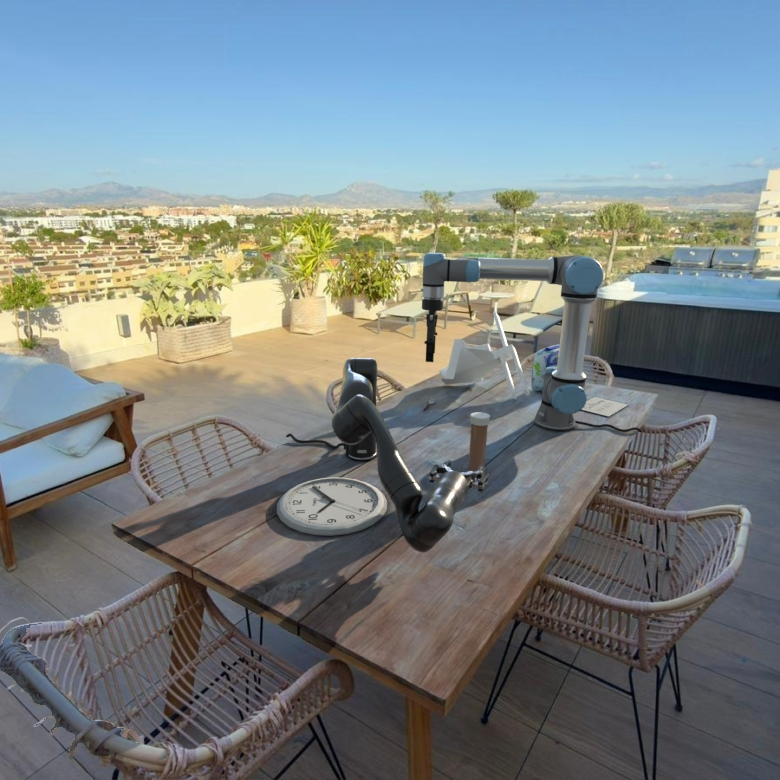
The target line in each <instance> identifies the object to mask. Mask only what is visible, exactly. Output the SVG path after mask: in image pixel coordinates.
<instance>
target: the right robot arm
mask: <svg viewBox="0 0 780 780" xmlns="http://www.w3.org/2000/svg"><path fill="white" fill-rule="evenodd" d="M422 264H423V265H422V288H420V292H421V293H422V294H421V296H422V299H421V309H422V310H423V311H428V313H426V316H425V320H426V340H424V342H423V343H424V344H425V362H426V363H434V359H435V357H434V356H435V353H436V338H437V337H436V336H438V332H437V329H436V328H437V324H438V318H439V315H438V314H437V311H438V312H439V311H442V310H444V299H443V298H444V297H445V282H447V283H449V282H452V283H453V282H457V283H468V284H470V283H477V282H479V281H480V280H495V281H497V280H499V281H500V280H501V281H526V282H527V281H531V282H546V283H547V284H548V285H557V286H561V289H560V298H561V299H562V300H563V303H564V305H563V313H562V322H561V330H560V339H559V345H560V346H559V355H558V364H557V366H553V367H547V368H546V369H545V373H544V382H543V392H542V391H541V393H542V394H541V402H540V405H539V407H538V410H537V411H536V413H535V417H534V424H535V425H536V426H537V427H539V428H542V429H544V430H549V431H556V432H567V431H572V430H574V429H575V428H576V424H578V425H582V426H588V427H591V428H605V427H607V428H611V429H613V430H615V431H618V432H621V433H628V432H631V431H637V432H639V433H643V430H642V429H641V428H639V427H637V426H634V427H633V426H632V427H630V428H625V429H622V428H619V427H617V426H614V425H612V424H610V423H609V424H608V423H601V424H593V423H589V422H585V421H579V420H576V418H575V417H576V416H575V414H576V413H579V412H580V411H582V410H581V409H582V408H583V407H584V406H585V404H586V401H588V397H587V392H586V389H585V388H586V383H587V382H586V381H587V375H586V374H585V373H584V371H583V369H584V361H585V355H586V347H587V339H588V338H587V337H588V330H589V324H590V318H591V317H590V316H591V308H592V303H593V302H594V301H596V300H597V298H598V294H599V293H598V291H599V288H601V285H602V284H603V281H604V269H603V267H602V265H601V264H600V262H599V261H597V260H596V259H595V258H594V257H592V256H587V255H581V254H574V255H573V254H572V255H565V256H551V257H549V258H548V259H545V258H544V259H543V258H542V259H541V258H540V259H539V258H501V257H500V258H497V257H496V258H495V257H494V258H492V257H466V256H460V257H457V258H455V259H451V258H449V259H448V258H447V257H446V253H444V252H427V253H425V254H424V255H423V263H422Z"/></svg>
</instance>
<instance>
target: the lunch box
mask: <svg viewBox="0 0 780 780" xmlns="http://www.w3.org/2000/svg"><path fill="white" fill-rule="evenodd" d="M559 346H560V344H554V345H550V346H547V347H544V348H542V349H541V348H540V349H539V350H537V351H536V352H535V353H534V356H533V360H532V367H531V368H532V369H531V382H530V383H531V386H530V387H531V389H532V390H533V391H537V392H541V393H542V392H543V382H544V373H545V369H546V368H547V367H553V366H557V364H558V355H559Z"/></svg>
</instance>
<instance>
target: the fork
mask: <svg viewBox="0 0 780 780" xmlns="http://www.w3.org/2000/svg"><path fill="white" fill-rule="evenodd" d="M436 400H437V397H436V396H432V395H431V396H430V399H429V401H428V404H426V405H425V407H424V409H423V411H422V412H424V411H426V410H428V408H429V407H430V406H431V405H433V404H435V403H436Z"/></svg>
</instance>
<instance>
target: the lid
mask: <svg viewBox="0 0 780 780" xmlns="http://www.w3.org/2000/svg"><path fill="white" fill-rule="evenodd" d="M490 420H491V416H490V414H489V413H486V412H483V411H482V412H481V411H475V412H472V413H470V417H469V422H470V424H471V423H472V424H474V425H478V426H485V425H488V426H489V425H490V422H491V421H490Z"/></svg>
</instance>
